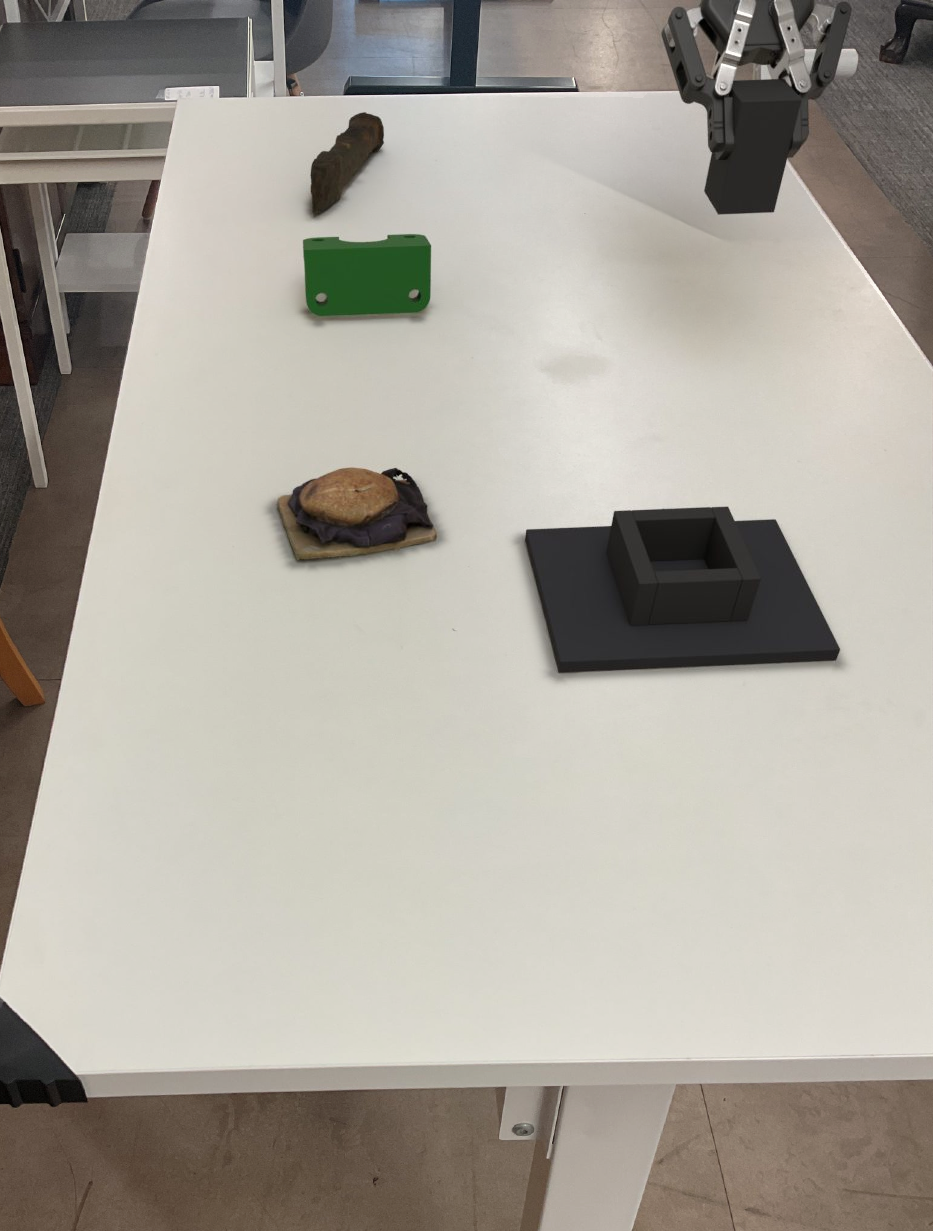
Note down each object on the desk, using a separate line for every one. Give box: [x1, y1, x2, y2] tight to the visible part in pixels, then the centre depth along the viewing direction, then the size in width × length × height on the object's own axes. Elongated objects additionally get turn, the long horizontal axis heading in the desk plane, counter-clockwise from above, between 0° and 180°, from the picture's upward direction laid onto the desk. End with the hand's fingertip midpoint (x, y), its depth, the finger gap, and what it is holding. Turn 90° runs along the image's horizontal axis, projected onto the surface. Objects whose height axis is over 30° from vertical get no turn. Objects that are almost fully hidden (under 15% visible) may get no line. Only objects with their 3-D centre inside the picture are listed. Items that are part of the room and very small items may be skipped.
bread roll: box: [276, 467, 438, 561], centre depth 85 cm, size 11×8×4 cm
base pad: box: [524, 506, 841, 674], centre depth 79 cm, size 18×14×4 cm
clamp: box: [302, 233, 432, 317], centre depth 107 cm, size 12×6×9 cm, turn 87°
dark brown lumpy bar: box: [310, 111, 385, 214], centre depth 126 cm, size 19×4×5 cm, turn 160°
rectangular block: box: [703, 78, 801, 215], centre depth 90 cm, size 4×4×8 cm
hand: (758, 153), depth 89 cm, fingers closed on rectangular block, 4 cm apart
